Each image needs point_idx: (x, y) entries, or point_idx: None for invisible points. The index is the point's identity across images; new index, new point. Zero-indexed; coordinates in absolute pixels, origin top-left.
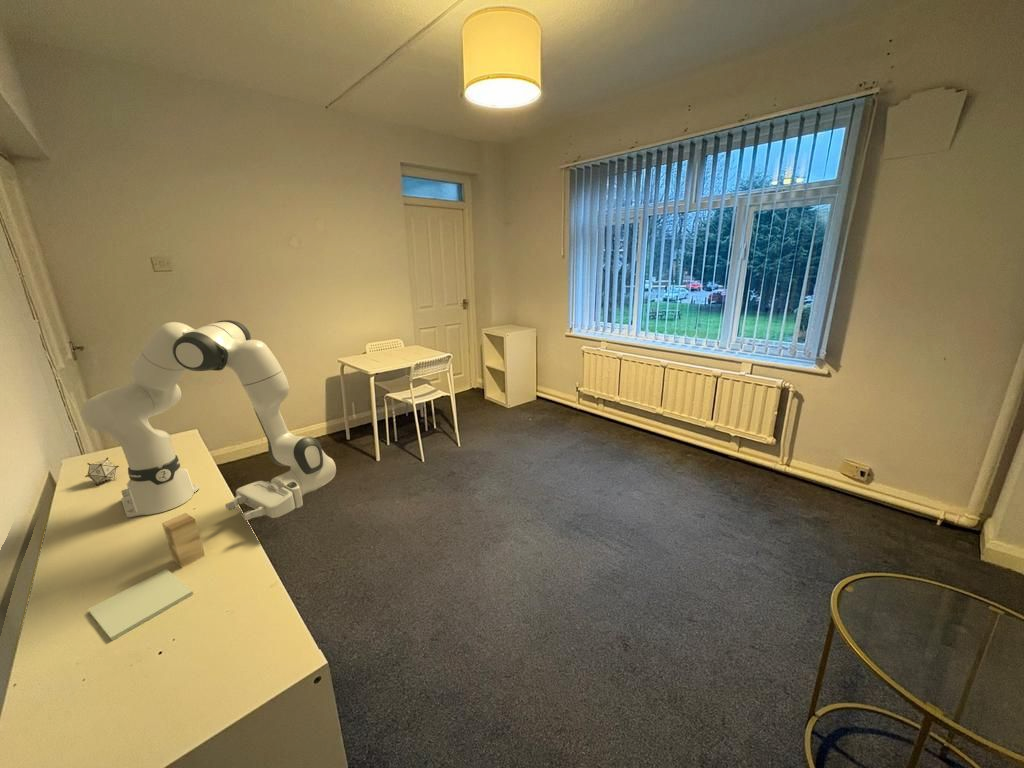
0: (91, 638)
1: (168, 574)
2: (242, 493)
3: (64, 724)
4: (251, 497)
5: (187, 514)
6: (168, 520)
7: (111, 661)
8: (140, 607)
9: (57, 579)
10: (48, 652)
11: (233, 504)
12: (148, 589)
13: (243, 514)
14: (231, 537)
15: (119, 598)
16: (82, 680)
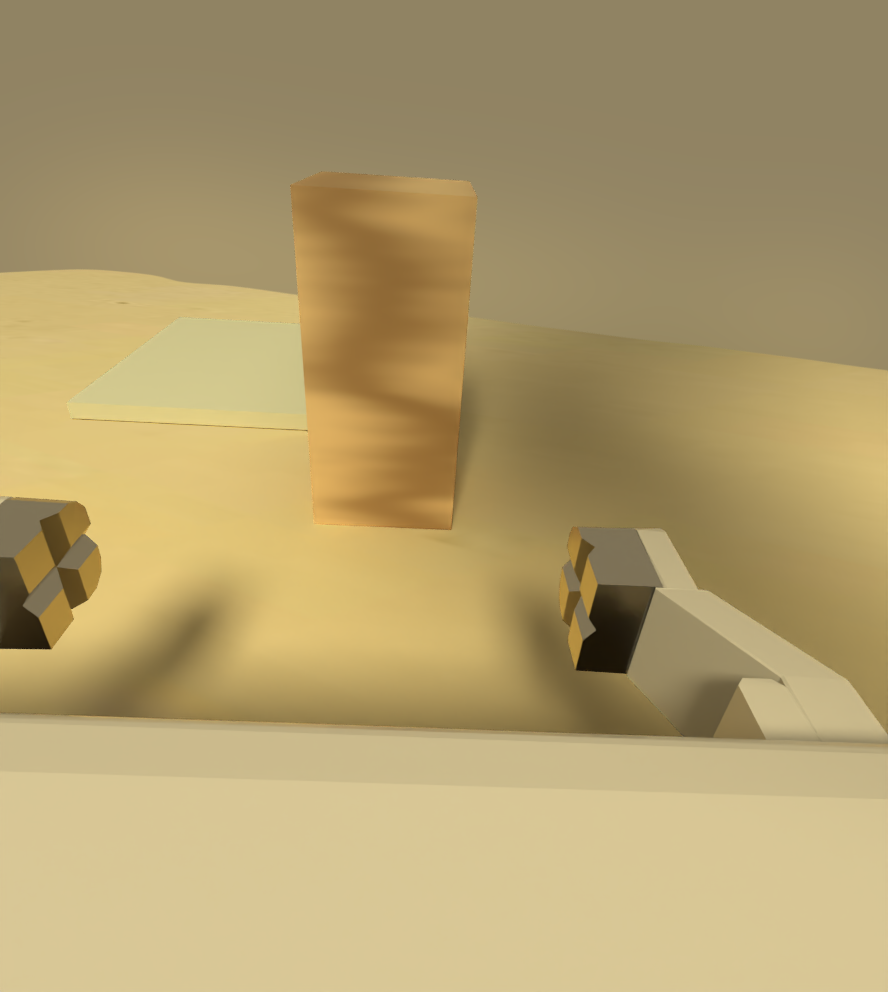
0: None
1: None
2: (860, 748)
3: (45, 283)
4: (324, 736)
5: (433, 194)
6: (468, 183)
7: (103, 317)
8: (220, 351)
9: (689, 354)
10: None
11: (586, 594)
12: (298, 374)
13: (54, 501)
14: (347, 686)
15: None
16: (124, 302)
